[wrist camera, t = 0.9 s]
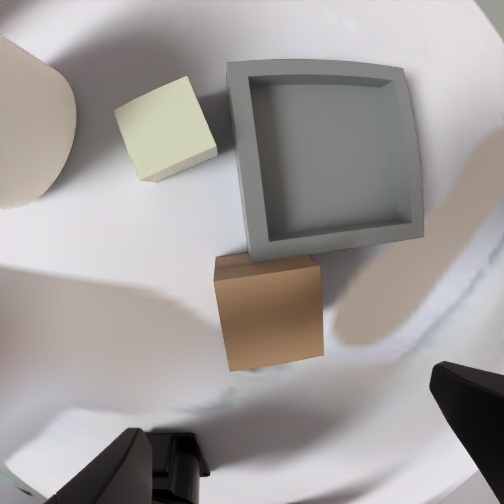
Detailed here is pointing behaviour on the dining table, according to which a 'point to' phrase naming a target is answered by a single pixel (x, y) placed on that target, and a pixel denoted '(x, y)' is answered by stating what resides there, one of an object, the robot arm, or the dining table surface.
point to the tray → (324, 156)
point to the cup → (31, 125)
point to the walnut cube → (269, 310)
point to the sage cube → (165, 131)
